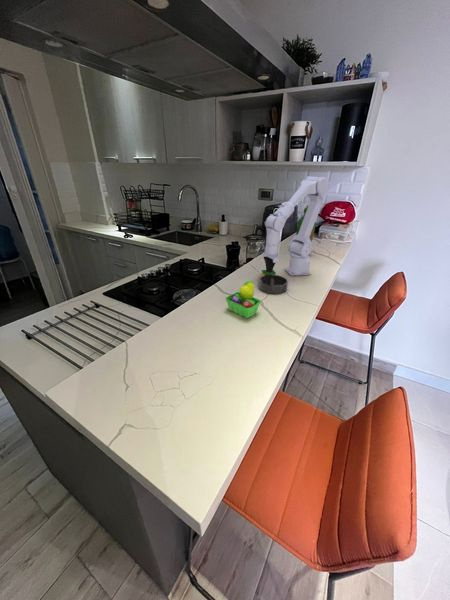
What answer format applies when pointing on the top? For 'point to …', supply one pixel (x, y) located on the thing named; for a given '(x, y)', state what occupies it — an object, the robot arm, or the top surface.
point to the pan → (273, 284)
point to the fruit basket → (244, 301)
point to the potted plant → (301, 224)
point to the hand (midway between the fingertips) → (268, 272)
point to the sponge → (268, 273)
